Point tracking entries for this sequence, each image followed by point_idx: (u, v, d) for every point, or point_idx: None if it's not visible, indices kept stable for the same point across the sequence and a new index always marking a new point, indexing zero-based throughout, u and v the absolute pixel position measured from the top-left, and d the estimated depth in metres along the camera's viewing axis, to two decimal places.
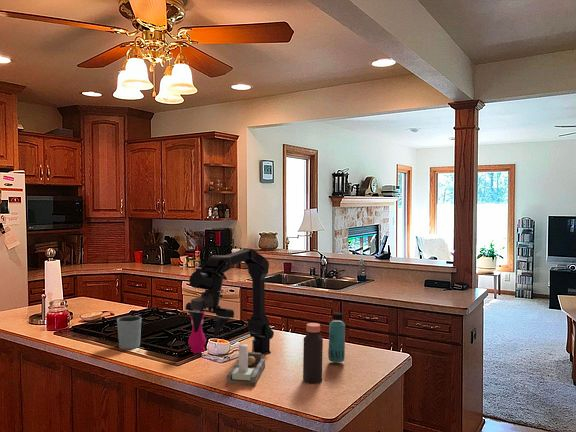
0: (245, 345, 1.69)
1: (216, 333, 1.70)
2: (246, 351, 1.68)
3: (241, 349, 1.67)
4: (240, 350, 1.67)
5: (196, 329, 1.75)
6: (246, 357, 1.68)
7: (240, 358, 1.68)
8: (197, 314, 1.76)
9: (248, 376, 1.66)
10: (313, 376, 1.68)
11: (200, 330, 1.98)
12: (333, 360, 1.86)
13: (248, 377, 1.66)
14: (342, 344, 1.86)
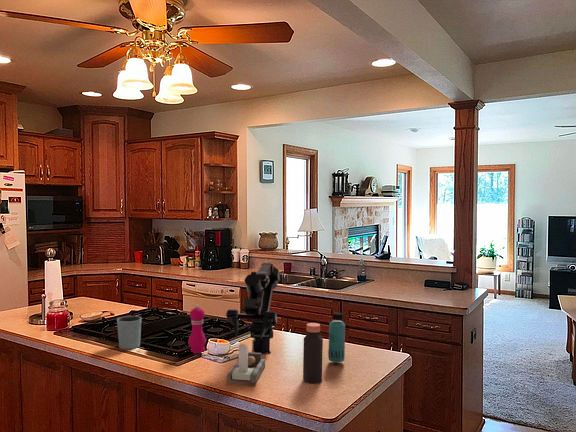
0: (245, 345, 1.69)
1: (262, 335, 1.76)
2: (246, 351, 1.68)
3: (241, 349, 1.67)
4: (240, 350, 1.67)
5: (236, 334, 1.77)
6: (246, 357, 1.68)
7: (240, 358, 1.68)
8: (237, 321, 1.81)
9: (248, 376, 1.66)
10: (313, 376, 1.68)
11: (200, 330, 1.98)
12: (333, 360, 1.86)
13: (248, 377, 1.66)
14: (342, 344, 1.86)
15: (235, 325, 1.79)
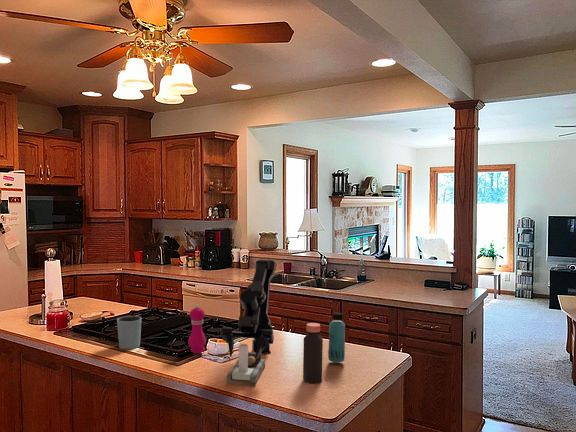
0: (245, 345, 1.69)
1: (258, 354, 1.69)
2: (246, 351, 1.68)
3: (241, 349, 1.67)
4: (240, 350, 1.67)
5: (231, 353, 1.70)
6: (246, 357, 1.68)
7: (240, 358, 1.68)
8: (232, 339, 1.73)
9: (248, 376, 1.66)
10: (313, 376, 1.68)
11: (200, 330, 1.98)
12: (333, 360, 1.86)
13: (248, 377, 1.66)
14: (342, 344, 1.86)
15: (230, 344, 1.71)
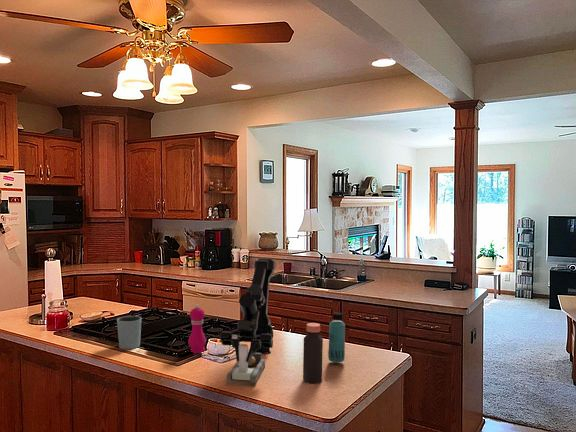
0: (245, 345, 1.69)
1: (249, 358, 1.68)
2: (246, 351, 1.68)
3: (241, 349, 1.67)
4: (240, 350, 1.67)
5: (238, 358, 1.68)
6: (246, 357, 1.68)
7: (240, 358, 1.68)
8: (239, 344, 1.72)
9: (248, 376, 1.66)
10: (313, 376, 1.68)
11: (200, 330, 1.98)
12: (333, 360, 1.86)
13: (248, 377, 1.66)
14: (342, 344, 1.86)
15: (237, 349, 1.70)
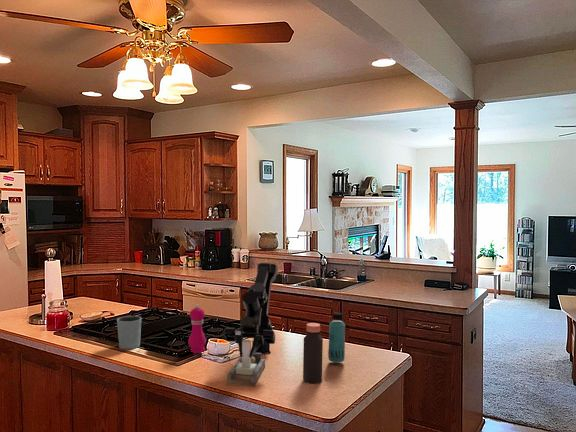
0: (248, 341, 1.74)
1: (252, 354, 1.73)
2: (249, 347, 1.73)
3: (244, 345, 1.72)
4: (243, 346, 1.72)
5: (241, 354, 1.73)
6: (249, 352, 1.73)
7: (243, 353, 1.72)
8: (242, 340, 1.77)
9: (251, 371, 1.71)
10: (313, 376, 1.68)
11: (200, 330, 1.98)
12: (333, 360, 1.86)
13: (251, 372, 1.71)
14: (342, 344, 1.86)
15: (240, 344, 1.74)
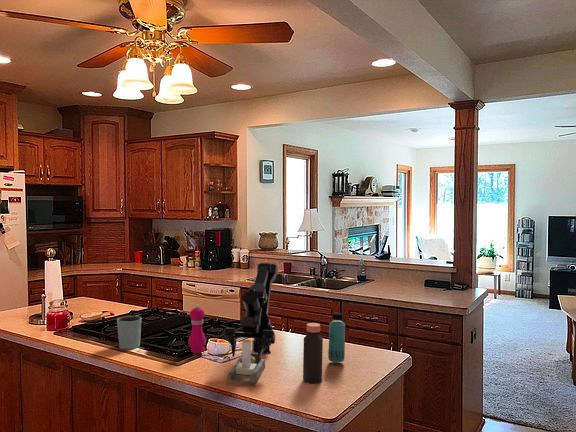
0: (248, 341, 1.74)
1: (260, 354, 1.72)
2: (249, 347, 1.73)
3: (244, 345, 1.72)
4: (243, 346, 1.72)
5: (234, 353, 1.74)
6: (249, 352, 1.73)
7: (243, 353, 1.72)
8: (234, 339, 1.77)
9: (251, 371, 1.71)
10: (313, 376, 1.68)
11: (200, 330, 1.98)
12: (333, 360, 1.86)
13: (251, 372, 1.71)
14: (342, 344, 1.86)
15: (232, 344, 1.75)
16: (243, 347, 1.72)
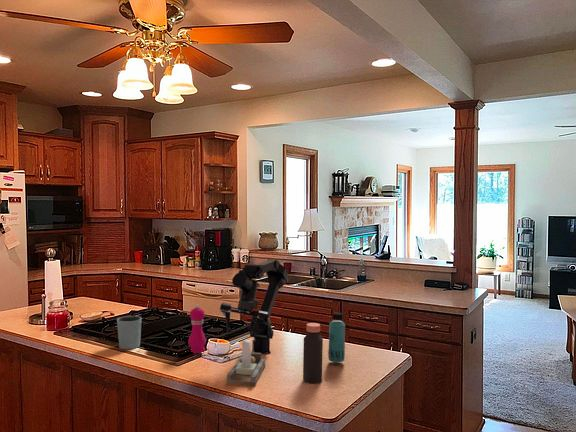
0: (248, 341, 1.74)
1: (253, 334, 1.83)
2: (249, 347, 1.73)
3: (244, 345, 1.72)
4: (243, 346, 1.72)
5: (228, 329, 1.83)
6: (249, 352, 1.73)
7: (243, 353, 1.72)
8: None
9: (251, 371, 1.71)
10: (313, 376, 1.68)
11: (200, 330, 1.98)
12: (333, 360, 1.86)
13: (251, 372, 1.71)
14: (342, 344, 1.86)
15: (228, 321, 1.83)
16: (243, 347, 1.72)
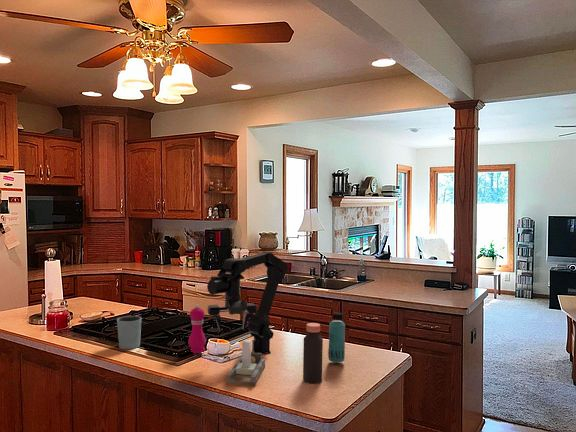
0: (248, 341, 1.74)
1: None
2: (249, 347, 1.73)
3: (244, 345, 1.72)
4: (243, 346, 1.72)
5: (220, 328, 1.88)
6: (249, 352, 1.73)
7: (243, 353, 1.72)
8: None
9: (251, 371, 1.71)
10: (313, 376, 1.68)
11: (200, 330, 1.98)
12: (333, 360, 1.86)
13: (251, 372, 1.71)
14: (342, 344, 1.86)
15: (219, 322, 1.87)
16: (243, 347, 1.72)
